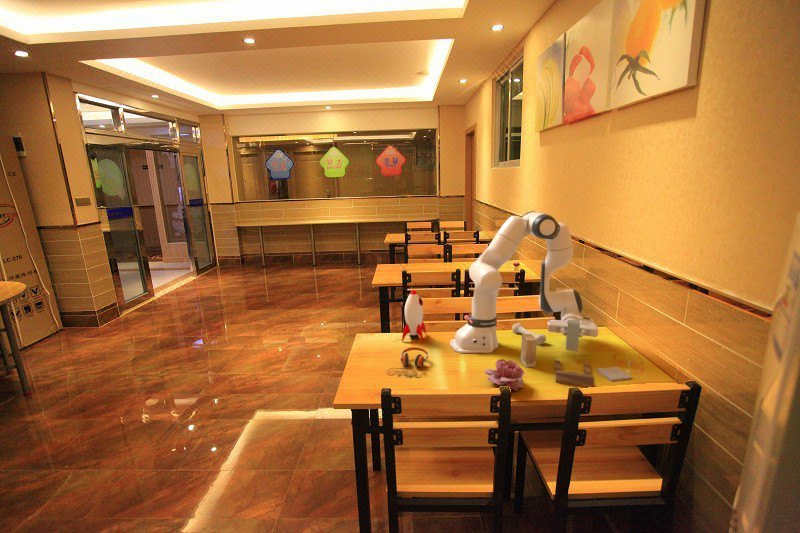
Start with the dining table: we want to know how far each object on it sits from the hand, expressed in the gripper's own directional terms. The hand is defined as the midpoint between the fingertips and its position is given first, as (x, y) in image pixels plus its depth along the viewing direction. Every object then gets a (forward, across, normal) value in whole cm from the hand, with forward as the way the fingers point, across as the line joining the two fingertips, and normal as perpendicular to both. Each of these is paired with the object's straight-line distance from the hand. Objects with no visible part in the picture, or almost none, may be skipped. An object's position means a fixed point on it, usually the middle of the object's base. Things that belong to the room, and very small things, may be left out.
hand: (572, 334), depth 170 cm
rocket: (-4, -72, +13) cm, 73 cm away
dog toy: (-20, -18, +12) cm, 30 cm away
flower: (+30, -24, +12) cm, 41 cm away
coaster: (+9, +15, +11) cm, 21 cm away
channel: (+13, 0, +12) cm, 17 cm away
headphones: (+26, -63, +13) cm, 69 cm away
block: (-1, 0, +7) cm, 7 cm away
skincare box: (+9, -17, +12) cm, 23 cm away
